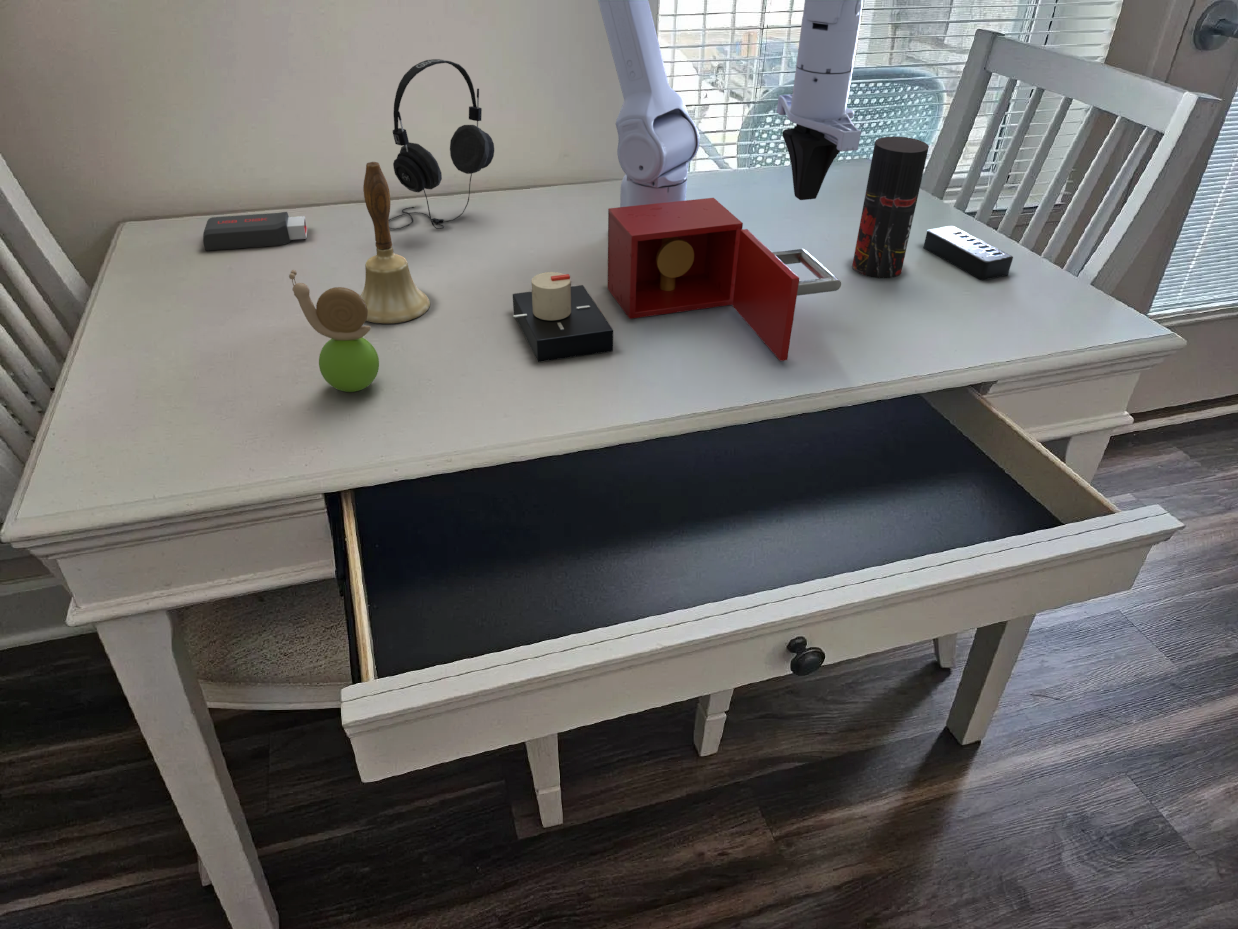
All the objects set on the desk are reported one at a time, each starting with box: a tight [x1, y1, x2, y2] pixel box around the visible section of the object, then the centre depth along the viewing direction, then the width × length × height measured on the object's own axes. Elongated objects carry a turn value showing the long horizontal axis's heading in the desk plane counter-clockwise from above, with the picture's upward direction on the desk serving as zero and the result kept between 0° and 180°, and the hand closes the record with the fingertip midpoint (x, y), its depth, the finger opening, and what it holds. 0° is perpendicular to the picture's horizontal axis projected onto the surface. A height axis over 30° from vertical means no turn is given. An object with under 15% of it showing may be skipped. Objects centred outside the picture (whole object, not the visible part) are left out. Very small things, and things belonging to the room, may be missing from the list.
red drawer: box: [732, 228, 842, 362], centre depth 93 cm, size 6×13×9 cm, turn 17°
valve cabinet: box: [607, 197, 744, 320], centre depth 99 cm, size 8×13×10 cm, turn 108°
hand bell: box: [359, 161, 431, 325], centre depth 94 cm, size 8×8×16 cm
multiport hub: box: [923, 225, 1014, 281], centre depth 111 cm, size 4×11×2 cm, turn 24°
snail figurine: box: [288, 269, 380, 393], centre depth 82 cm, size 5×6×12 cm
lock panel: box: [512, 284, 614, 363], centre depth 94 cm, size 11×9×3 cm
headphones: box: [389, 58, 495, 230], centre depth 114 cm, size 15×11×20 cm
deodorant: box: [852, 135, 930, 280], centre depth 105 cm, size 6×6×15 cm
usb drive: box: [202, 211, 308, 252], centre depth 113 cm, size 5×12×3 cm, turn 104°
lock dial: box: [531, 271, 572, 321], centre depth 92 cm, size 4×4×4 cm
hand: (805, 197), depth 100 cm, fingers closed
